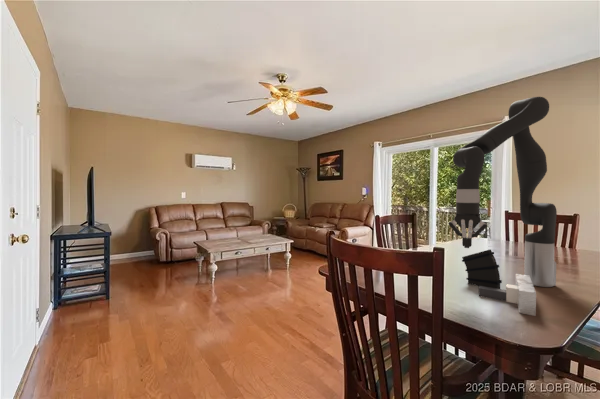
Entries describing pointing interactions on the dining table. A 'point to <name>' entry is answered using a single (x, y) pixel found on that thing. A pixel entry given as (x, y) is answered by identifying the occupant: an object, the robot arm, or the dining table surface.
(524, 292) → the housing
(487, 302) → the dining table surface
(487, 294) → the plug
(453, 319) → the dining table surface
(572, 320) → the dining table surface
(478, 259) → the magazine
